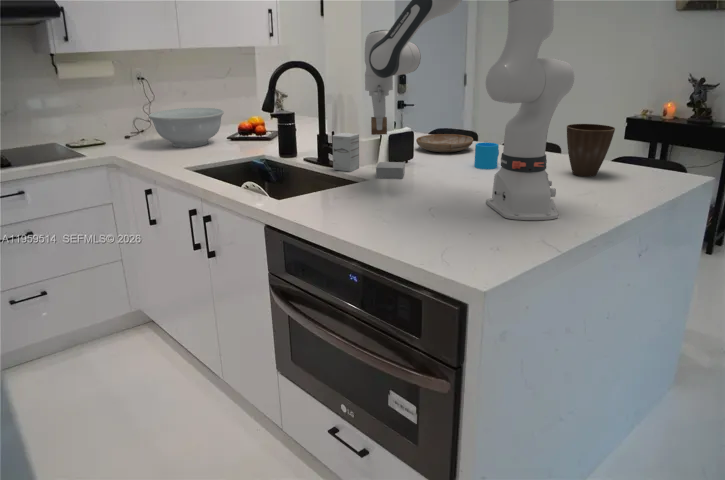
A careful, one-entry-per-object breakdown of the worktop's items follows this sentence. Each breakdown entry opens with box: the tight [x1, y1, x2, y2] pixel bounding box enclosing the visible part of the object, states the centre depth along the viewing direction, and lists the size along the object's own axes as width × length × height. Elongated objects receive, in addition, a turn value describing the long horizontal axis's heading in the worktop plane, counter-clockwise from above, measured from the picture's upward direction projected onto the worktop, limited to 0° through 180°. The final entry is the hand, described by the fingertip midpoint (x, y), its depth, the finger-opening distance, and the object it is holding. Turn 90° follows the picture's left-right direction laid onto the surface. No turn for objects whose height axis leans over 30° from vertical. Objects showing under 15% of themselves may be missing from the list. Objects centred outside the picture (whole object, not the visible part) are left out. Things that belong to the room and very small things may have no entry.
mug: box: [473, 142, 500, 170], centre depth 199 cm, size 12×8×8 cm
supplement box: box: [332, 132, 360, 173], centre depth 197 cm, size 7×7×13 cm
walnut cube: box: [370, 116, 388, 136], centre depth 179 cm, size 5×5×5 cm
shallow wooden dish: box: [415, 133, 474, 153], centre depth 230 cm, size 23×24×5 cm
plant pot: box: [566, 123, 616, 178], centre depth 184 cm, size 15×15×16 cm
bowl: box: [148, 107, 225, 149], centre depth 248 cm, size 32×32×15 cm
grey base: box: [375, 161, 406, 180], centre depth 189 cm, size 9×9×4 cm
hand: (379, 128), depth 180 cm, fingers closed on walnut cube, 5 cm apart
